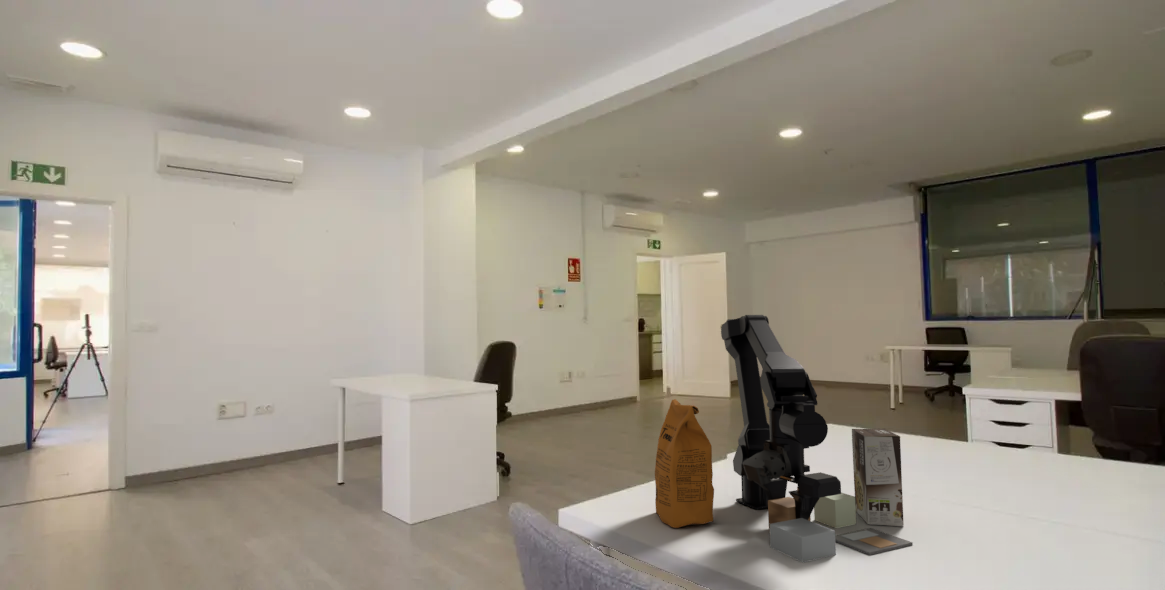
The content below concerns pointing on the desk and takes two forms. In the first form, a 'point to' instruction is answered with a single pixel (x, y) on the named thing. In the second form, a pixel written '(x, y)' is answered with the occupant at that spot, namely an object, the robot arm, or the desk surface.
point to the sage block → (836, 510)
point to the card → (871, 541)
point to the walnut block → (781, 510)
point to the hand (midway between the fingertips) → (789, 524)
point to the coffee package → (683, 469)
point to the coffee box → (877, 476)
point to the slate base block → (802, 539)
